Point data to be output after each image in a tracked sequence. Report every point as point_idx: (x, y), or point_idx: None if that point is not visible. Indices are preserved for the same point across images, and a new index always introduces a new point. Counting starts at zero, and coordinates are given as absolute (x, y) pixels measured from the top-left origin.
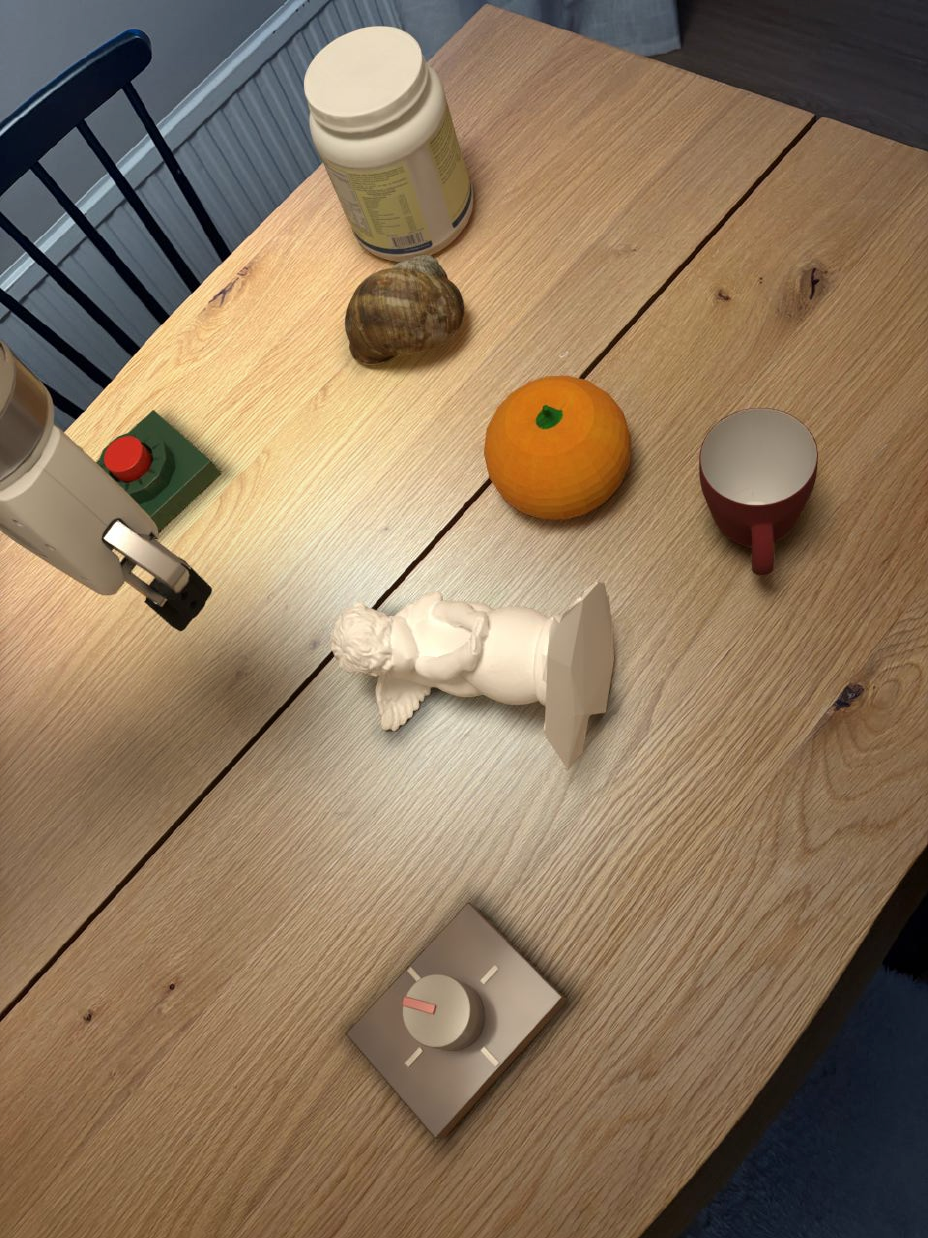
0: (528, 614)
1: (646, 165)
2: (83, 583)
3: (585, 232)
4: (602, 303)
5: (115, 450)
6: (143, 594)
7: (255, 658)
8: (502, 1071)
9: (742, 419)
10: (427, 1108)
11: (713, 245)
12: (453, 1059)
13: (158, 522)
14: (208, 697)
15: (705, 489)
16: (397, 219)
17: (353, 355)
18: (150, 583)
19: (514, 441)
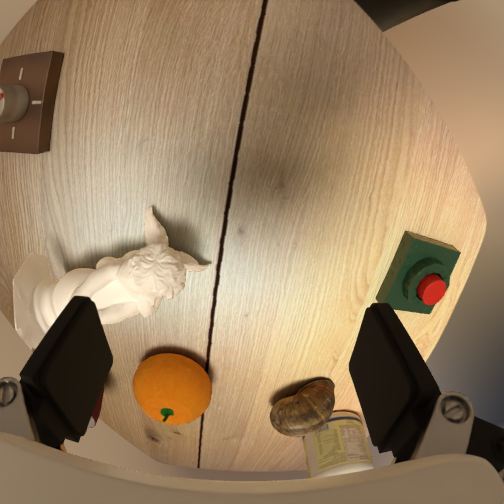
0: None
1: (243, 456)
2: (8, 478)
3: (249, 440)
4: (220, 425)
5: (440, 292)
6: (16, 404)
7: (277, 201)
8: None
9: (94, 421)
10: (9, 64)
11: (196, 444)
12: None
13: (399, 255)
14: (293, 158)
15: None
16: (324, 440)
17: (325, 381)
18: (38, 419)
19: (172, 401)
